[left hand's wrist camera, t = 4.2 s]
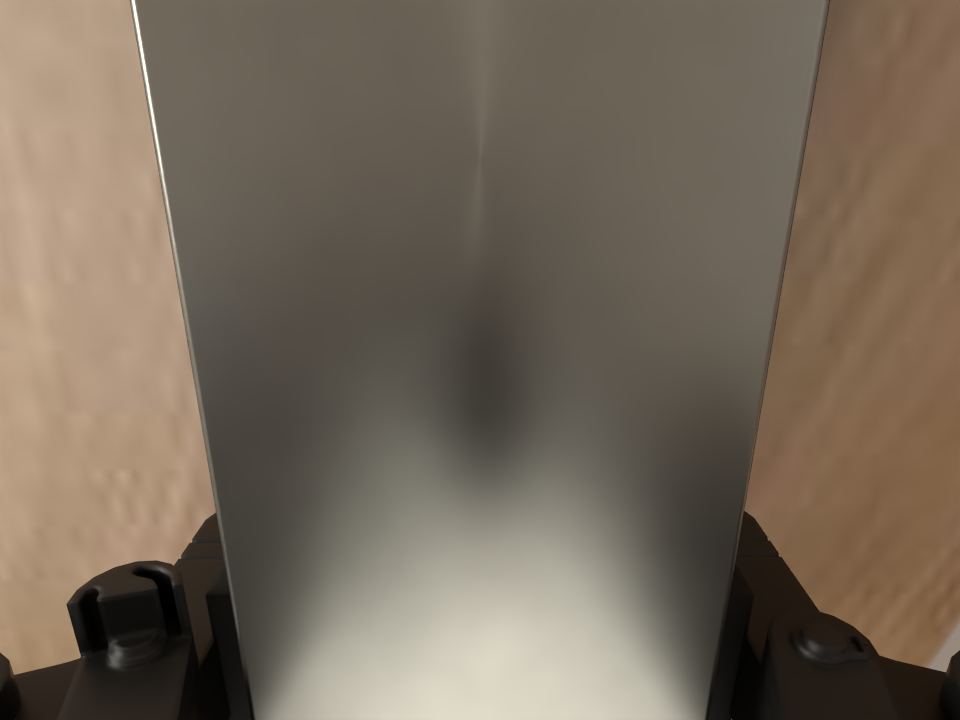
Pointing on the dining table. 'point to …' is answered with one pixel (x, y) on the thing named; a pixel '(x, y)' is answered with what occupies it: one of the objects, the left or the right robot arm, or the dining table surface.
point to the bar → (479, 334)
